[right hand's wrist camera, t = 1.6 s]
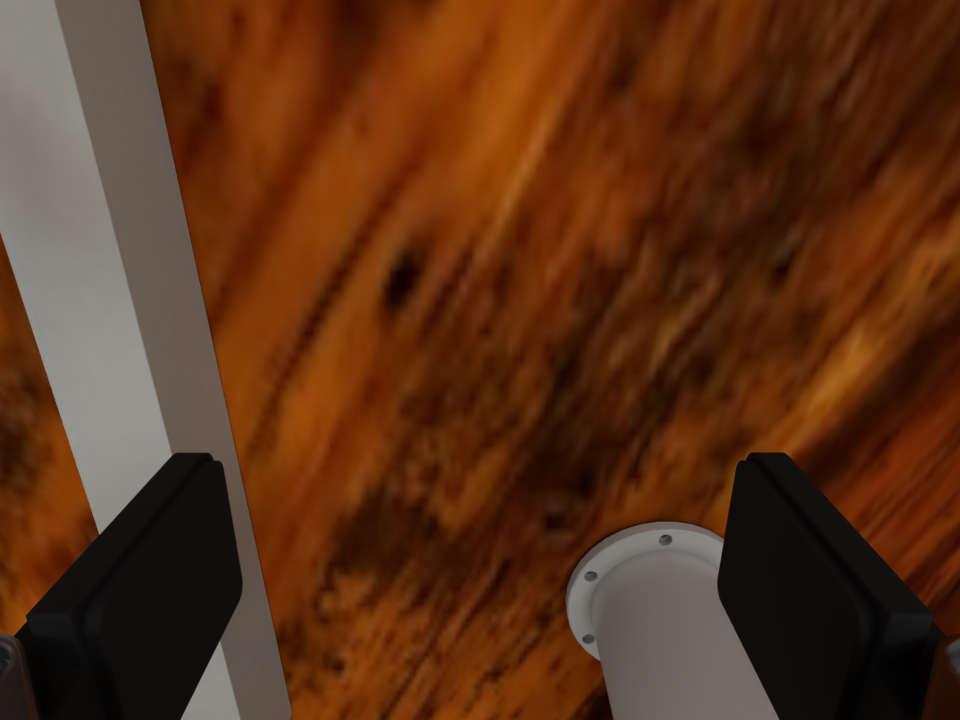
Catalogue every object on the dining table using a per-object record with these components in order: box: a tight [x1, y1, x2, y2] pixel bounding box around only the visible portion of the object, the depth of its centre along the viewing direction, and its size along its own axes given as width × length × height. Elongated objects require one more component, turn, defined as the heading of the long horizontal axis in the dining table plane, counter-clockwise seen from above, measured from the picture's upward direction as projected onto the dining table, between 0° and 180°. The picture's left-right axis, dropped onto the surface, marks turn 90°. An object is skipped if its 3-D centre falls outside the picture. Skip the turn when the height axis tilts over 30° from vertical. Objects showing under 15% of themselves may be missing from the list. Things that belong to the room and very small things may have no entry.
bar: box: [0, 0, 292, 720], centre depth 35 cm, size 52×5×7 cm, turn 2°
